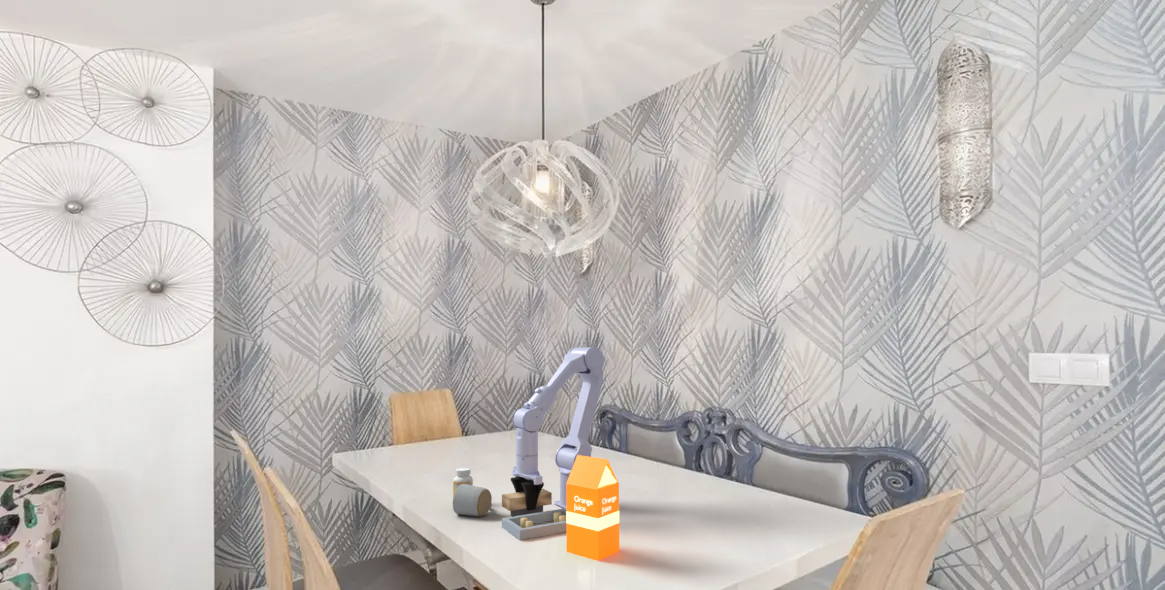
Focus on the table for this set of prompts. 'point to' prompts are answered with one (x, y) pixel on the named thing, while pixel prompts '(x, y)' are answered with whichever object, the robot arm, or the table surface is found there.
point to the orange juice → (592, 509)
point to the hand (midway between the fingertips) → (526, 507)
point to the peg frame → (527, 522)
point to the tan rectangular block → (524, 500)
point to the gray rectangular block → (526, 511)
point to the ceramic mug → (471, 500)
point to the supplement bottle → (462, 478)
